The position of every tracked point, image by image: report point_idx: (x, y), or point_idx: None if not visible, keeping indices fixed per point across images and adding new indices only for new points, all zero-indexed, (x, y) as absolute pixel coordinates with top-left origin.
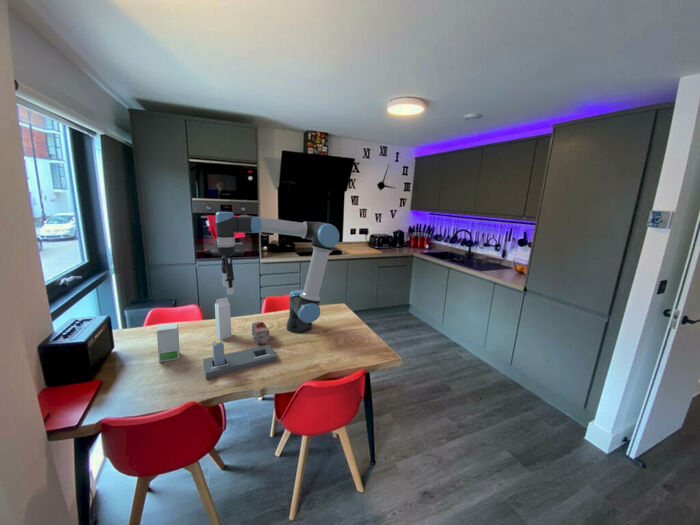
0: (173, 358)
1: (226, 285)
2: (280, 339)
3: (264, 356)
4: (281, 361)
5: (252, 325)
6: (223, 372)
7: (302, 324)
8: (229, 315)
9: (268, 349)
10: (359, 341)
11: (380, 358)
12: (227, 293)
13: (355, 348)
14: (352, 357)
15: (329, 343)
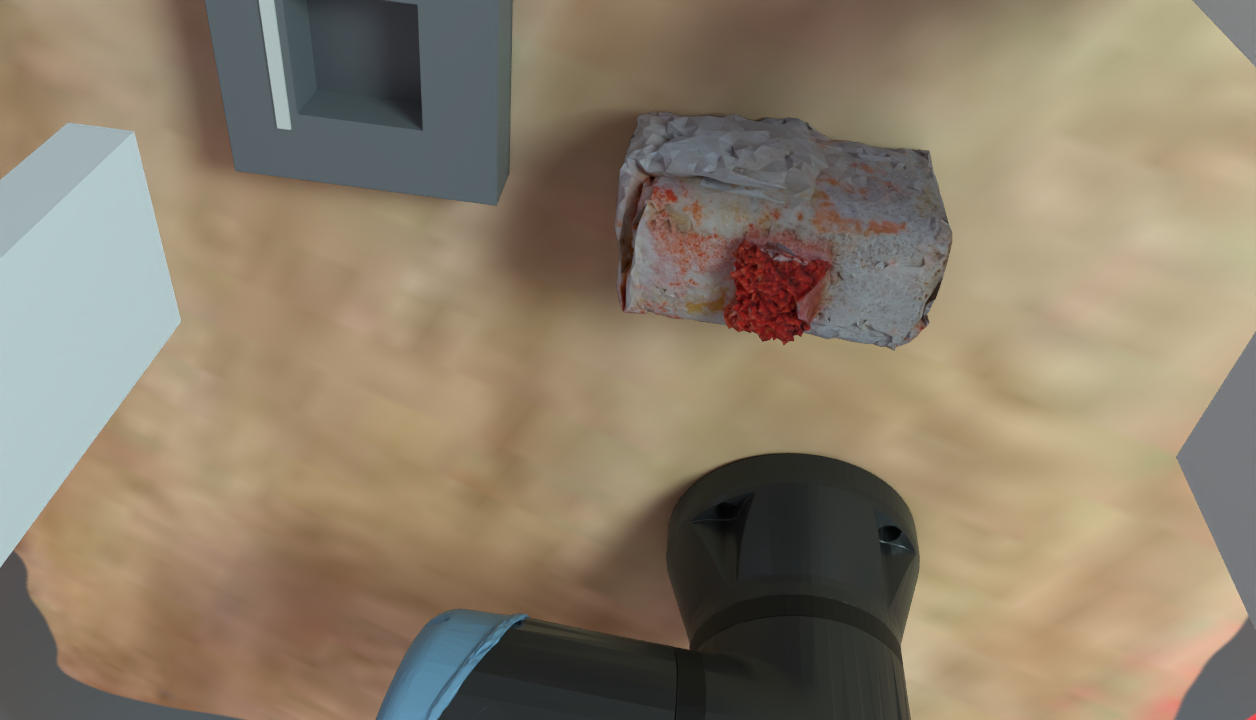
0: None
1: (1227, 404)
2: (665, 333)
3: (262, 68)
4: (249, 174)
5: (920, 221)
6: None
7: (680, 578)
8: (1237, 26)
9: (393, 157)
10: (337, 677)
11: (90, 641)
12: (54, 145)
13: (255, 620)
14: (146, 555)
15: (393, 556)
